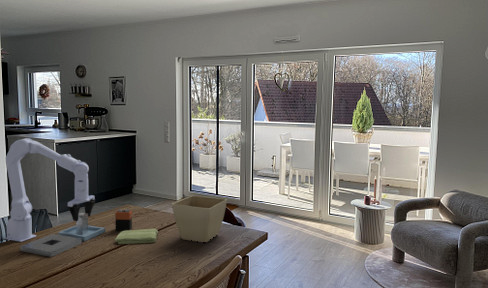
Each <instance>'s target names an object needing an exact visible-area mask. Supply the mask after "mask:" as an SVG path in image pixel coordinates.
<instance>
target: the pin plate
mask: <svg viewBox="0 0 488 288" xmlns="http://www.w3.org/2000/svg"><path fill="white" fill-rule="evenodd" d="M82 242H83V241H82V239H80V238H74V237H68V236H62V235H58V234H55V233H52V234H49V235H45V236H44V237H41V238H38V239H35V240H32V241H31V242H27V243H26V244H22V245H20V246H19V247H20V248H19V249H20V250H19V251H20V252H25V253H30V254H34V255H40V256H43V257H44V256H45V257H50V258H52V257H54V256H57V255H59V254H61V253H63V252H65V251H68V250H70V249H72V248H74V247H77V246H79V245H81V244H82Z"/></svg>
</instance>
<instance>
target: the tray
mask: <svg viewBox="0 0 488 288" xmlns="http://www.w3.org/2000/svg"><path fill="white" fill-rule="evenodd" d="M104 233H106V227H100V226H94V225H93V226H92V225H88V233H86V234H83V235H80V234H76V225H74V226H71V227H69V228H66V229H63V230H60V231H58V232H57V235H62V236H68V237H74V238H80V239H82V242H87V241H88V240H92V239H94V238H95V237H98V236H101V235H102V234H104Z"/></svg>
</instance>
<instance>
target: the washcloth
mask: <svg viewBox="0 0 488 288" xmlns="http://www.w3.org/2000/svg"><path fill="white" fill-rule="evenodd" d="M158 234H159V231H158V229H156V228H148V229H145V228H144V229H131V230H127V231H120V232H119V233H118V235H117V236H116V238H114V242H116V243H117V244H118V245H131V244H149V243H150V244H152V243H155V242H156V241H157V237H158Z"/></svg>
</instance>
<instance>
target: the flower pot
mask: <svg viewBox="0 0 488 288" xmlns="http://www.w3.org/2000/svg"><path fill="white" fill-rule="evenodd" d="M227 200H228V199H227V198H217V197H212V196H211V197H210V196H203V195H202V196H201V195H190V196H187V197H185V198H183V199H180V200H178V201H175V202H172V204H171V207H172V212H173V216H174V222H175V224H176V226H177V231H178V233H179V236H180V238H181V239H182V240H186V241H191V240H192V241H191V242H197V241H198V242H197V243H203V242H206V243H208V242H209V241H211V240H212V239H214V238H215V237H217V236H218V235H219V232H220V230H221V228H222V223H223V221H224V217H225V212H226V207H227V202H228V201H227ZM217 234H218V235H217ZM216 235H217V236H216ZM213 237H214V238H213ZM210 239H211V240H210Z"/></svg>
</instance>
